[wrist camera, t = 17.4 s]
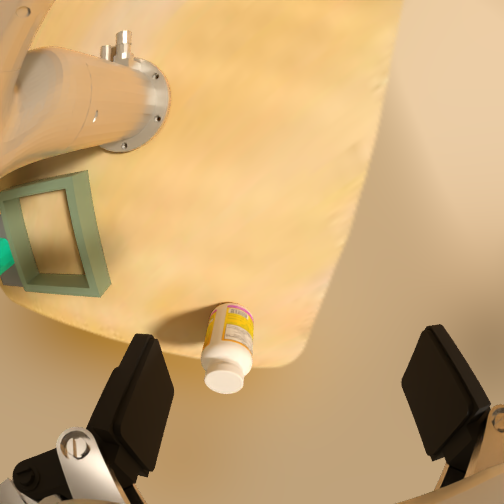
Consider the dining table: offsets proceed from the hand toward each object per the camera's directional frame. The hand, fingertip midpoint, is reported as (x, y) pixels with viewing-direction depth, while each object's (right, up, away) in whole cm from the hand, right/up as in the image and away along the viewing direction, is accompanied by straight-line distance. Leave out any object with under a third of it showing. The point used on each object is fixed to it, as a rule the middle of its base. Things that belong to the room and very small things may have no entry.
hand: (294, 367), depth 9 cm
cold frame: (-33, +7, +29) cm, 45 cm away
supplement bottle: (-4, -6, +35) cm, 35 cm away
